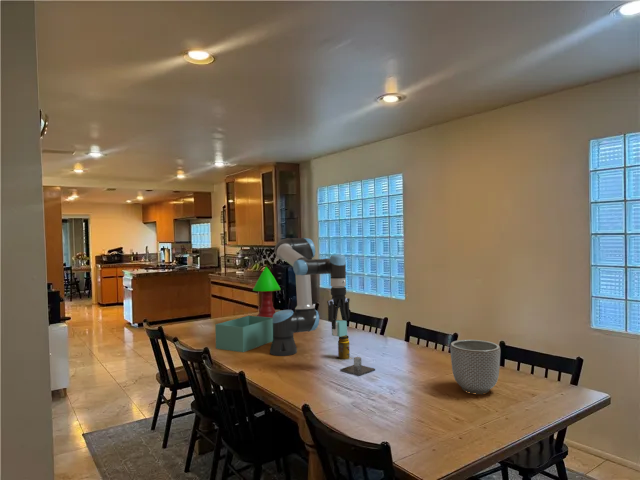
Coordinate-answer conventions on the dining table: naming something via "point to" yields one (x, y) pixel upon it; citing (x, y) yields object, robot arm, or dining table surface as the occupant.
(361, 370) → the grey square plate
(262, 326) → the box
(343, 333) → the teal block
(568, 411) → the dining table surface
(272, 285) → the table lamp
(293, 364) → the dining table surface
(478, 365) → the planter
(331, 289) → the robot arm
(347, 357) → the condiment
